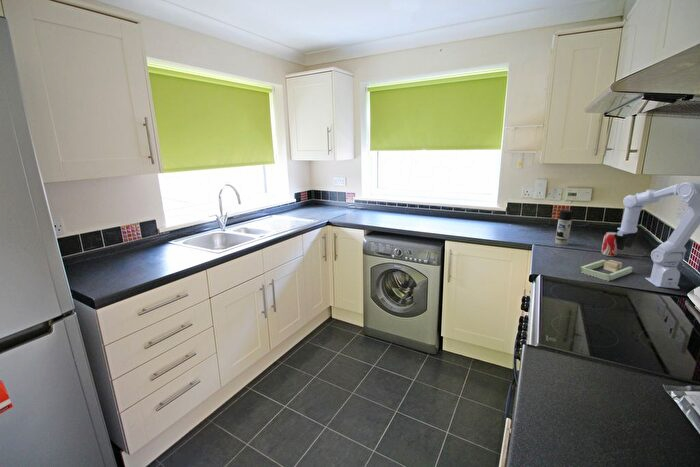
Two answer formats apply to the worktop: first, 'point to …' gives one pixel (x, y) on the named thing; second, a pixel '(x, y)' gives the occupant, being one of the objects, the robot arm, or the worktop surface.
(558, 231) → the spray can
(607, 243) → the soda can
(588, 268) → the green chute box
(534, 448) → the worktop surface
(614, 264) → the maple block
